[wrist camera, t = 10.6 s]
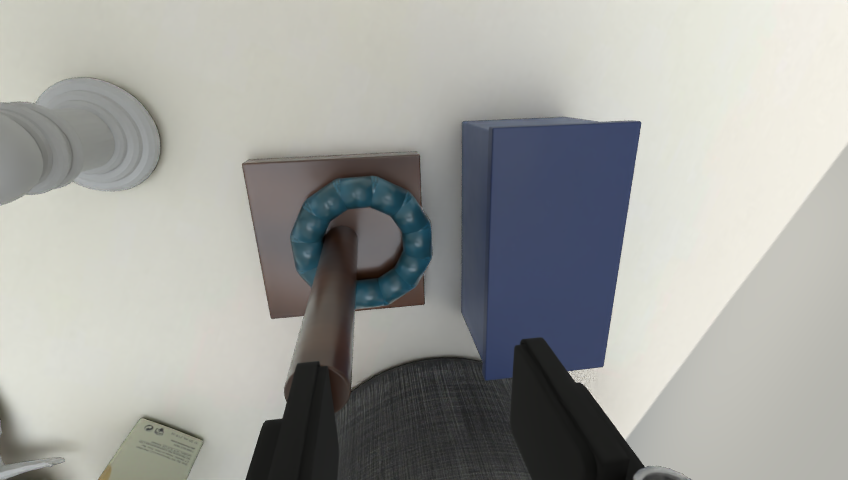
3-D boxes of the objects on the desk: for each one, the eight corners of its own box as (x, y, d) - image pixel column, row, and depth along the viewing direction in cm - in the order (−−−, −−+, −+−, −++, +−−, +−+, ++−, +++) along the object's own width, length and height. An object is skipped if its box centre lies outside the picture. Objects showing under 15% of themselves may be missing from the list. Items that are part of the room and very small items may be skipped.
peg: (247, 159, 21) (86, 255, 9) (417, 151, 22) (480, 226, 10) (274, 309, 24) (183, 530, 12) (422, 295, 25) (474, 487, 13)
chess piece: (118, 58, 19) (-79, 33, 11) (186, 163, 21) (66, 212, 13) (15, 105, 19) (-259, 117, 11) (93, 205, 21) (-87, 281, 13)
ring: (283, 180, 21) (276, 187, 19) (426, 168, 21) (430, 174, 20) (306, 306, 23) (302, 321, 22) (432, 291, 24) (437, 305, 23)
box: (458, 117, 22) (492, 127, 16) (569, 113, 23) (642, 121, 17) (458, 315, 26) (484, 381, 20) (551, 306, 27) (603, 367, 21)
